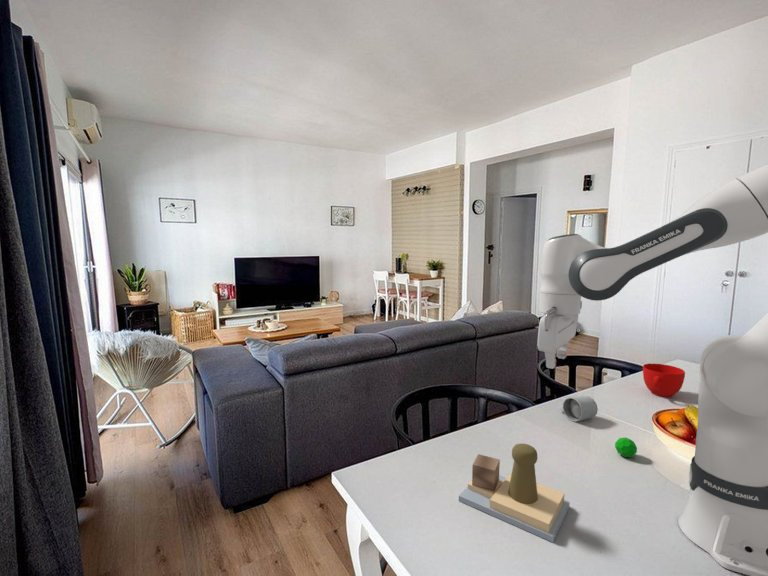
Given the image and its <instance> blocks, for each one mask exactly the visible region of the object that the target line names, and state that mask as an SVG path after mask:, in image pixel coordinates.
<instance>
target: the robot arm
mask: <svg viewBox="0 0 768 576" xmlns="http://www.w3.org/2000/svg"><path fill="white" fill-rule="evenodd" d="M767 233H768V164H767V163H766V165H762V166H760V167H758V168H755V169H754V170H753V169H752V170H751V171H748V172H747V173H744V174H742V175H740V176H738V177H736V178H733V179H732V180H730V181H728V182H726V183H724V184H722V185H720V186H718V187H717V188H715V189H713V190H712V191H710V192H708V193H707V194H706V195H704V196H703V197H701V198H700V199H699V200H697V201H696V202H694V203H692V205H690V206H689V207H688V208H687V209H686V210H684V211H683V212H682V213H681V214H680V215H678V216H676V218H674V219H672V220H671V221H669V222H668V223H666V224H664V225H662V226H660V227H658V228H656V229H654V230H651V231H649V232H647V233H645V234H643V235H641V236H638V237H636V238H635V239H632V240H630V241H627V242H625V243H623V244H620V245H617V246H614V247H604V246H602V245H598V244H596V243H594V242H592V241H589V240H587V239H586V238H584V237H583V236H582V235H581V234H578V233H570V234H562V235H558V236H553V237H551V238H548V239H547V240H546V241H545V242H544V245H543V248H542V251H541V259H540V260H541V261H540V269H539V270H540V272H539V273H540V277H541V284H540V288H539V295H538V296H539V298H538V311H539V312H540V313H543V314H544V315H543V316H541V317H540V320H539V322H538V324H539V325H538V331H537V332H538V333H537V344H536V345H537V350H538V351H540V352H544V357H545V366H546V368H547V369H555V368H556V367H557V359H556V357H557V358H558V359H562V360H565V359H566V358H567V355H568V354H567V351H568V349H569V348H568V347H569V345H570V341H571V340H572V339H573V338H574V337H575V336H576V333H577V330H578V329H577V328H578V324H579V323H578V321H579V314H581V309H582V306H583V301H582V297H583V298H584V299H586V300H590V301H606V300H608V299H611V298H613V297H615V296H616V295H617V294H619V293H620V292H621V291H622V289H624V287H625V286H626V285H627V284H628V283H629V282H630V281H632V280H633V279H634V278H636V277H637V276H639V275H642V274H643V273H646V272H648V271H651V270H652V269H655V268H657V267H659V266H661V265H663V264H666V263H668V262H671V261H673V260H676V259H678V258H681V257H683V256H685V255H688V254H691V253H696V252H699V251H704V250H709V249H717V248H721V247H722V248H723V247H727V246H730V245H735V244H738V243H741V242H746V241H748V240H751V239H755V238H757V237H760V236H762V235H763V236H764V235H765V234H767ZM556 354H557V356H556ZM699 358H700V360H699V378H698V380H699V381H698V399H697V400H698V403H697V425H696V436H695V438H696V439H695V449H694V450H695V451H694V456H693V457H692V458H691V461H690V462H691V463H690V466H689V472H688V475H689V476H688V483H689V491H688V492H689V493H688V495H687V500H686V502H685V505H684V508H683V510H682V512H681V514H680V515H679V517H678V521H677V522H678V526H679V528H680V530H681V531H682V532H683V534H684V535H685V536H686V537H687V538H688V539H689V540H690V541H691V542H693V544H696V546H697V547H699V548H701V549H702V550H703V551H705V552H706V553H708V554H709V555H710V556H711V557H712V558H713V559H714V560H715V561H716V562H717V563H718V564H719V565H720V566H722V567H723V568H724V569H727V570H729V571H732V572H736V573H739V574H743V575H746V576H768V312H767V313H765V315H764V316H763V317H761V318H760V319H759V321H757V323H756V324H755V325H753V326H752V327H751V328H750V329H749V330H748V331H747V332H746V333H745V334H743V335H738V334H729V335H728V334H727V335H726V334H725V335H722V336H718V337H716V338H713V339H711V341H709V342H708V343H707V344H706V345H705V347H703V349H702V351H701V353H700V357H699Z"/></svg>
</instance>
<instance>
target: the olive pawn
mask: <svg viewBox="0 0 768 576" xmlns="http://www.w3.org/2000/svg"><path fill="white" fill-rule="evenodd" d="M511 457H512V460H513V463H512V470H511V474H512V475H511V480H510V486H509V492H508V494H509V496H510V497H511V498H512V499H513V500H515V501H517V502H519V503H523V504H533V503H535V502H536V501H537V500H538V495H537V485H536V483H537V476H536V467H535V464H536V463H537V461H538V451H537V449H535V447H533V446H532V445H530V444H527V443H517V444H514V446H513V447H512V449H511Z"/></svg>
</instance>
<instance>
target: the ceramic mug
mask: <svg viewBox="0 0 768 576" xmlns="http://www.w3.org/2000/svg"><path fill="white" fill-rule="evenodd" d="M598 409H599V408H598V405H597V403H596V401H595V399H594V398H592V397H590V396H588V395H578V396H569V397H566V398H565V399H564V400H563V402H562V406H561V407H560V411H561V413H563V414H564V415H565V417H566V418H567V419H568V420H570V421H571V422H573V423H575V422H581V421H585V420H589V419H593V418H594V417H596V416H597V414H598V411H599V410H598Z"/></svg>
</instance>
